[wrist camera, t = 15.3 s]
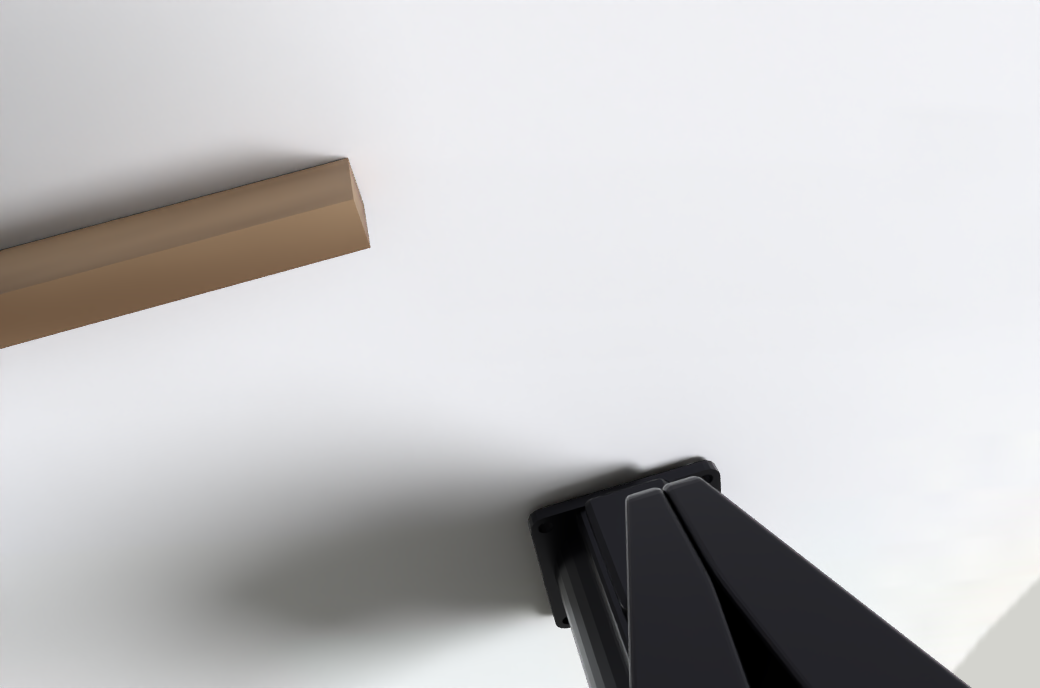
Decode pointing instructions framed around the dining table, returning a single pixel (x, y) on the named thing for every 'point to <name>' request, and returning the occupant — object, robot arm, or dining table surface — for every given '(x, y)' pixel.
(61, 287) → the brown wooden flat frame
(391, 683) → the dining table surface
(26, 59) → the dining table surface
